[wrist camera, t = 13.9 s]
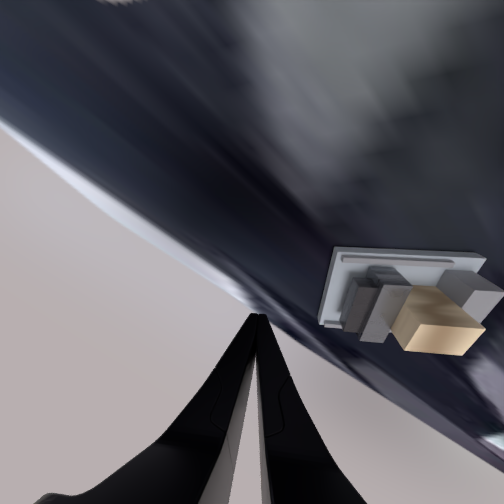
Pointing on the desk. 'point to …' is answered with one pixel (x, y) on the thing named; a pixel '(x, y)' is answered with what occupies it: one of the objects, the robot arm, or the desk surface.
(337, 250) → the vise bed
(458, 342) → the maple block
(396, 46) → the desk surface
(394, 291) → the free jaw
